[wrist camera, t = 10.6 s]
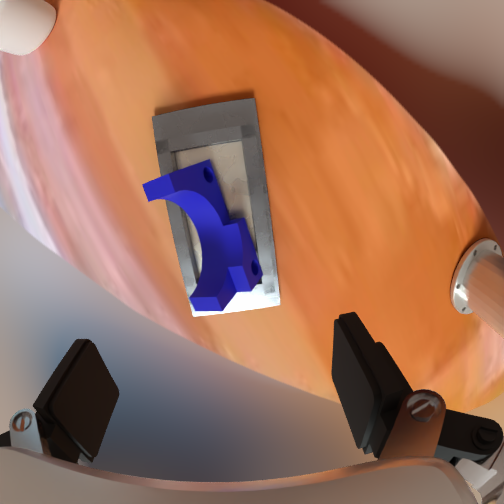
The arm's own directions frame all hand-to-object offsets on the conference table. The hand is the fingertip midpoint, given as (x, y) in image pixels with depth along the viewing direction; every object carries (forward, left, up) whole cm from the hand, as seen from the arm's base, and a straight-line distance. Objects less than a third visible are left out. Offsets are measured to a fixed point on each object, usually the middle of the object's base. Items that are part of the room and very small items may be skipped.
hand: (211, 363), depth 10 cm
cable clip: (0, -1, -19) cm, 19 cm away
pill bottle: (+22, -31, -21) cm, 43 cm away
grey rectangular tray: (+1, -1, -21) cm, 21 cm away
